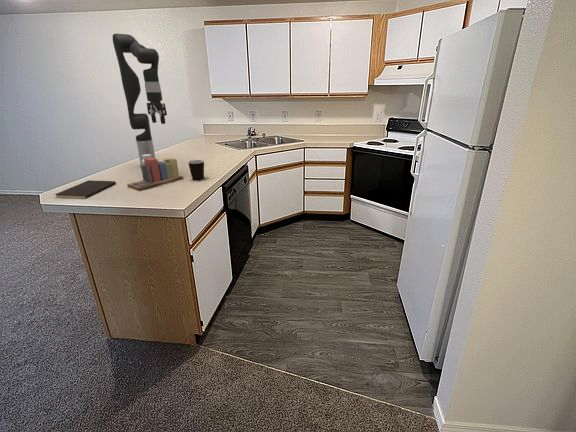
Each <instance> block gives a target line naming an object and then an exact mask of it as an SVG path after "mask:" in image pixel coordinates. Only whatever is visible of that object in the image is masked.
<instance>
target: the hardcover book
mask: <svg viewBox="0 0 576 432" xmlns="http://www.w3.org/2000/svg"><path fill="white" fill-rule="evenodd" d="M116 185H117V182H116V181H115V180H90V179H89V180H86V181H83V182H81V183H79V184H77V185H74V186H71V187H69V188H67V189H64V190H62V191H59V192H57V193H55V194H54V196H56V197H55V198H58V199H84V200H86V199H89V198H91V197H93V196H96V195H97V194H99V193H101V192H104V191H105V190H107V189H109V188H111V187H113V186H116Z"/></svg>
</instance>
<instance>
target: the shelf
mask: <svg viewBox="0 0 576 432" xmlns="http://www.w3.org/2000/svg"><path fill="white" fill-rule="evenodd" d="M157 161H158V167H159V172H160V178H161V181H159V182H155V183H154V182H153V181H152V176H151V171H150V167H148V166H145V165H141V164H140V169H141V170H140V171H141V174H142V175H141V176H142V180H138V181H134V182H131V183H127V186H126V187H128V189H132V190H135V191H138V192H143V191H146V190H149V189H153V188H157V187H160V186H163V185H167V184H171V183H174V182H178V181H182V180H184V176H181V175H180V174H179V173H180V172H179V167H178V161H177V159H175V158H171V157H167V158H163V161H159V160H157Z"/></svg>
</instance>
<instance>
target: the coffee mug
mask: <svg viewBox="0 0 576 432" xmlns="http://www.w3.org/2000/svg"><path fill="white" fill-rule="evenodd" d="M187 164H188V168H189V171H190V175H191V180H192V181H195V182H196V181H197V182H198V181H203V180H204V179H205V161H204V160H202V159H194V160H193V159H192V160H189V161H187Z"/></svg>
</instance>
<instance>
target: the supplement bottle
mask: <svg viewBox="0 0 576 432" xmlns="http://www.w3.org/2000/svg"><path fill="white" fill-rule="evenodd" d="M142 157H143V160H142V165H145V162H144V159H146V158H151V154H144V155H142Z"/></svg>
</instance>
